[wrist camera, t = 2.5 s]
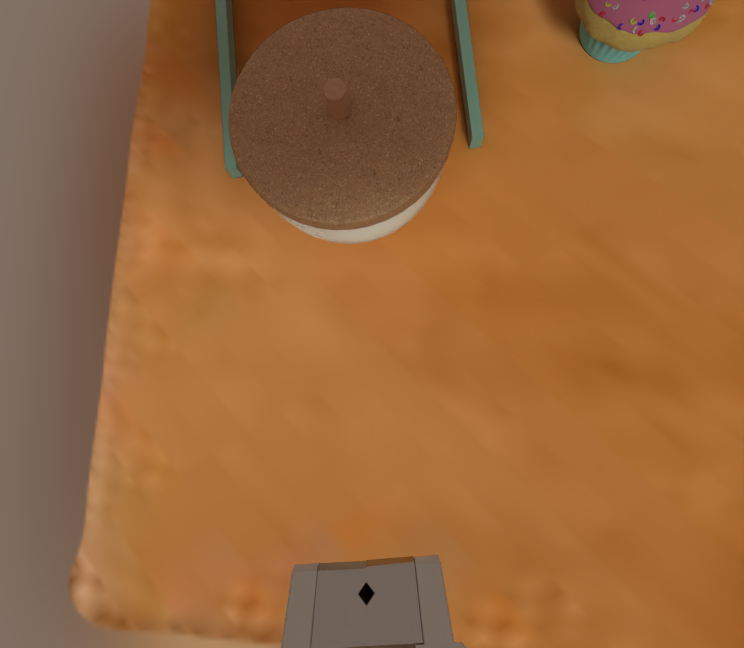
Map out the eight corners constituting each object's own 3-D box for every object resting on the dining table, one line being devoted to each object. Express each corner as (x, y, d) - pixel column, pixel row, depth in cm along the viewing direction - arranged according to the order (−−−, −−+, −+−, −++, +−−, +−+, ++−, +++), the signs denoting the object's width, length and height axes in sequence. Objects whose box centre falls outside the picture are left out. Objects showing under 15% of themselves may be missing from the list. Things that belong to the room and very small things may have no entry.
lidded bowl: (404, 290, 32) (405, 247, 21) (247, 229, 34) (172, 159, 23) (468, 134, 33) (499, 16, 22) (312, 80, 35) (271, -55, 24)
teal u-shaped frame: (480, 147, 33) (483, 136, 32) (232, 177, 34) (225, 168, 33) (452, -68, 35) (454, -88, 34) (220, -33, 36) (212, -50, 35)
